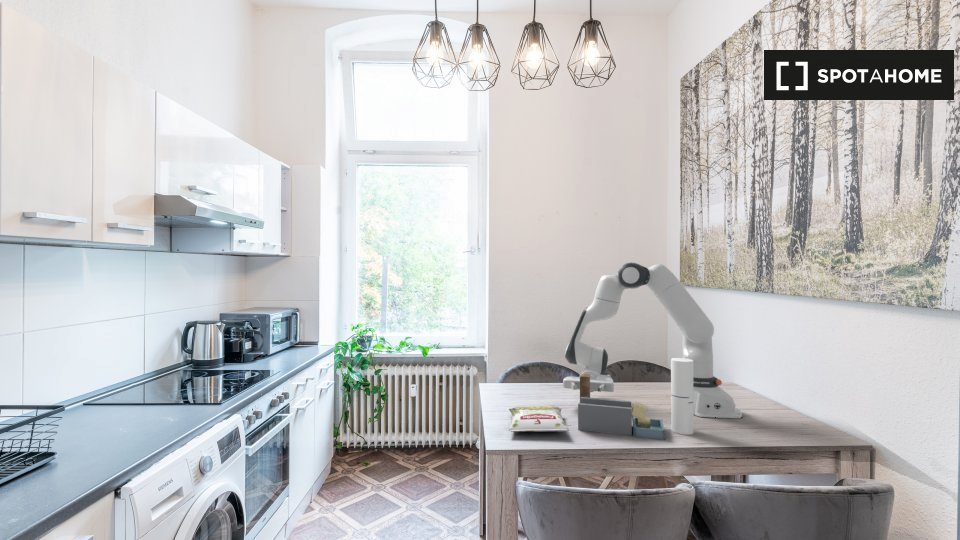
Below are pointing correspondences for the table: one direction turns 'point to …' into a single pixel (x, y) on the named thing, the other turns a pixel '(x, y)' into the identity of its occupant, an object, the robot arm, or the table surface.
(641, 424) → the tan wooden cube
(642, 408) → the tan cube
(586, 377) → the tall wooden post
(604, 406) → the channel
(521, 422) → the frozen beans
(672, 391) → the cylindrical container
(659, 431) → the tray
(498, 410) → the table surface
